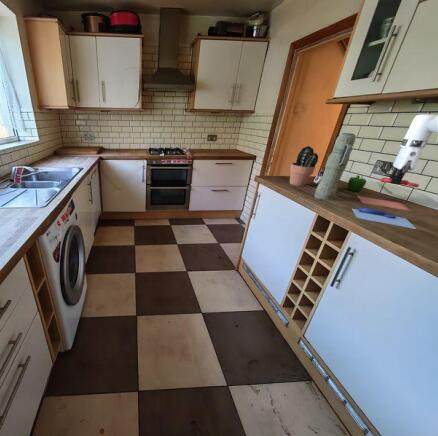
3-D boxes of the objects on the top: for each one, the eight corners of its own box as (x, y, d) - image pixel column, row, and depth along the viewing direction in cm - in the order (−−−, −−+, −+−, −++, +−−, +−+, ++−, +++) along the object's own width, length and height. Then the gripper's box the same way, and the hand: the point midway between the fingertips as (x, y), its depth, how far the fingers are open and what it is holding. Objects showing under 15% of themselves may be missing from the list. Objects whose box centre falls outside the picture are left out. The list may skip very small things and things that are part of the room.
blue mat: (405, 219, 106) (405, 218, 106) (416, 230, 96) (417, 229, 96) (351, 209, 116) (351, 208, 115) (356, 218, 105) (356, 217, 105)
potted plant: (284, 184, 153) (295, 146, 142) (286, 180, 163) (297, 144, 152) (308, 188, 146) (322, 148, 135) (309, 183, 156) (322, 146, 145)
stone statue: (321, 201, 125) (347, 134, 110) (309, 194, 135) (331, 132, 120) (338, 202, 124) (366, 134, 109) (324, 195, 135) (348, 132, 120)
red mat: (404, 204, 125) (404, 203, 124) (413, 212, 115) (413, 211, 114) (357, 196, 134) (357, 196, 134) (362, 203, 124) (362, 202, 123)
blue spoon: (393, 216, 108) (395, 212, 107) (396, 219, 104) (399, 215, 103) (356, 209, 114) (358, 205, 113) (358, 212, 111) (360, 208, 110)
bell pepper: (353, 188, 149) (360, 173, 145) (364, 192, 141) (372, 177, 137) (341, 188, 149) (347, 173, 144) (352, 192, 141) (358, 176, 137)
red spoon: (415, 185, 109) (418, 180, 108) (419, 187, 106) (422, 183, 105) (378, 180, 115) (380, 176, 114) (380, 182, 112) (382, 178, 111)
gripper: (433, 146, 95) (410, 188, 103) (417, 143, 108) (397, 180, 116) (409, 145, 99) (388, 185, 107) (395, 141, 111) (378, 178, 119)
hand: (393, 182), depth 111 cm, fingers closed on red spoon, 2 cm apart
